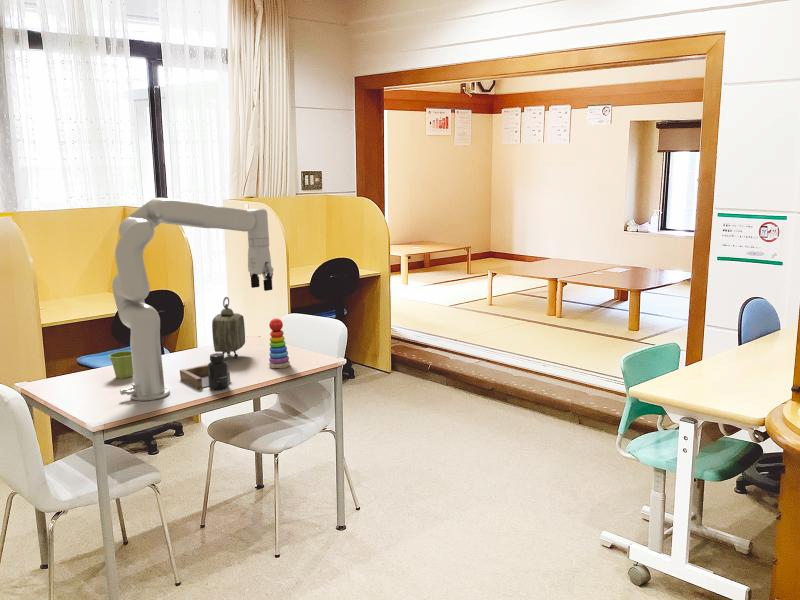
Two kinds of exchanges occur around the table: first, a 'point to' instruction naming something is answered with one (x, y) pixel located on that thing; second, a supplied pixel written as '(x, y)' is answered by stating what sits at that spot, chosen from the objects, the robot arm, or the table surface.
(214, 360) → the supplement bottle
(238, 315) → the tabletop clock
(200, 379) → the u rest
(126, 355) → the plant pot
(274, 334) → the stacking toy
